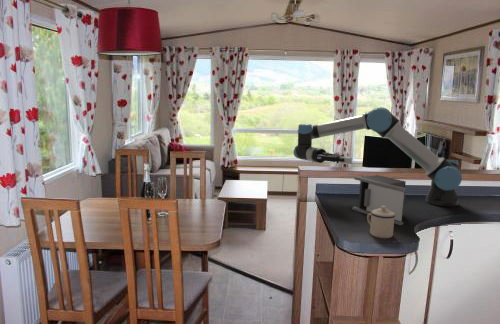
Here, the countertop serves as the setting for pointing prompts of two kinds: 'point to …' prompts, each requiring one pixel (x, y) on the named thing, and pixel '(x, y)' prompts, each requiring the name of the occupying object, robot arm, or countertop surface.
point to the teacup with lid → (381, 222)
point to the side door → (384, 199)
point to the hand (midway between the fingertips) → (350, 161)
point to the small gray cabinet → (381, 182)
